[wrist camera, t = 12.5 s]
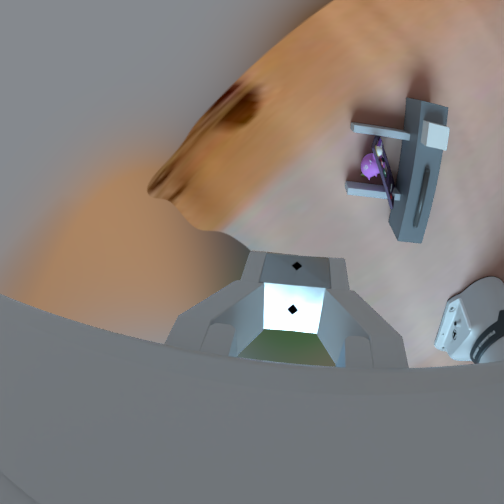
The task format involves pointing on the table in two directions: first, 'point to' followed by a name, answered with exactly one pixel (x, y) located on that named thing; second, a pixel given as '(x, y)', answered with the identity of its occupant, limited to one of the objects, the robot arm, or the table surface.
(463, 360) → the robot arm
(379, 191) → the charging dock
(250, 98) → the table surface
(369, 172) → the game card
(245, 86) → the table surface
